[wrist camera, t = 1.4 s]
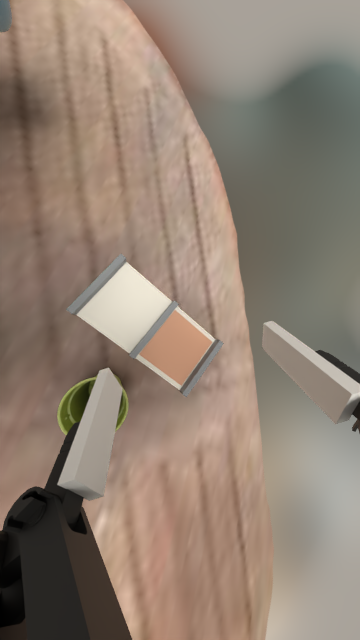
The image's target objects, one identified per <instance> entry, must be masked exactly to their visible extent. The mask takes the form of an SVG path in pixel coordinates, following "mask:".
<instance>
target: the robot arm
mask: <svg viewBox="0 0 360 640" xmlns="http://www.w3.org/2000/svg"><path fill="white" fill-rule="evenodd" d="M11 23H12V13H11V7H10V2H9V0H0V32H6V31H8V30H9V28H10V27H11ZM262 349H263V350H264V351H265V352H266V353H267V354H268V355H269V356H270V357H271V358H272V359H273V360H274V361H275V362H276V363H277V364H278V365H279V366H280V367H281V368H282V369H283V370H284V371H285V372H286V373H287V374H288V375H289V376H290V377H291V378H292V380H294V382H295V383H296V384H297V385H298V386H299V387H300V388H301V389H302V390H303V391H304V392H305V393H306V394H307V395H308V396H309V397H310V398H311V399H312V400H313V401H314V402H315V403H316V404H317V405H318V407H320V408H321V410H323V412H325V414H326V415H327V416H328V417H329V418H330V419H331V420H332V421H333V422H334V423H335V424H338V423H341V422H344V421H347V420H349V418H350V417H351V415H352V414H353V415H354V416H355V417H356V418H357V421H356V422H355V424H354V425H353V427H352V431H356V429H357V428H358V429H359V433H360V374H359V373H358V372H356V371H355V370H353V369H352V368H350V367H348V366H347V365H346V364H344V363H343V362H340V361H339V360H338V359H337V358H335V357H334V356H332V355H331V354H329V353H326V352H324V351H321V350H318V351H313V350H312V349H311V348H309V347H308V346H306V345H305V344H304V343H302V342H301V341H299V340H298V339H297V338H295V337H294V336H293V335H291V334H290V333H288V332H287V331H286V330H284V329H283V328H282V327H280V326H279V325H277V324H276V323H275V322H273V321H270V322H266V323H264V325H263V341H262ZM122 390H123V388H122V387H121V385H120V384H119V382H118V381H117V379H116V378H115V376H114V375H113V373H112V372H111V370H110V369H109V368H106V369H102V370H100V371H99V373H98V376H97V379H96V381H95V384H94V387H93V389H92V392H91V395H90V398H89V400H88V403H87V406H86V408H85V411H84V414H83V416H82V419H81V421H79V422H76V423H74V424H73V426H72V427H71V429H70V430H69V431H68V433H67V435H66V438H65V440H64V444H63V445H62V447H61V450H60V454H59V455H58V457H57V460H56V462H55V464H54V467H53V469H52V472H51V474H50V476H49V479H48V481H47V484H46V486H45V488H44V489H43V488H40V487H33V488H30V489H28V490H27V491H26V492H25V493H23V494H22V495H21V496H20V497H19V498H18V500H17V501H16V502H15V503H14V504H13V506H12V508H11V509H10V511H9V512H8V514H7V517H6V519H5V521H4V526H3V530H2V531H0V640H132V638H131V635H130V632H129V630H128V627H127V624H126V621H125V619H124V616H123V613H122V611H121V608H120V605H119V603H118V600H117V597H116V594H115V592H114V589H113V586H112V584H111V581H110V578H109V575H108V573H107V570H106V567H105V565H104V562H103V559H102V557H101V554H100V551H99V548H98V546H97V543H96V540H95V538H94V535H93V532H92V530H91V527H90V524H89V521H88V519H87V516H86V513H85V511H84V509H83V507H82V502H83V498H85V499H87V500H89V501H90V500H93V499H97V498H100V497H103V496H104V491H105V485H106V480H107V474H108V468H109V463H110V457H111V452H112V446H113V440H114V435H115V429H116V424H117V418H118V412H119V407H120V401H121V396H122Z"/></svg>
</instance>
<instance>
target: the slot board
mask: <svg viewBox="0 0 360 640" xmlns="http://www.w3.org/2000/svg"><path fill="white" fill-rule="evenodd" d="M178 305H179V304H178V303H177V302H176V301H173V302H172V301H171V300H170V299H169V298H167V297H166V296H165V295H164V294H163V293H162V292H160V291H159V290H158V289H157V288H156V287H155V286H154V285H152V284H151V283H150V282H149V281H148V280H147V279H146V278H144V277H143V276H142V275H141V274H140V273H139V272H137V271H136V270H135V269H134V268H133V267H132V266H131V265H129V264H128V263H127V262H126V258H125V257H124V256H123V255H122V254H120V255H119V256H118V257H117V258H116V259H115V260H114V261H113V262H112V263H111V264H110V265H109V266H108V267H107V268H106V269H105V270H104V271H103V272H102V273H101V274H100V275H99V276H98V277H97V278H96V279H95V280H94V281H93V283H92V284H91V285H90V286H89V287H88V288H87V289H86V290H85V291H84V292H83V293H82V294H81V295H80V296H79V297H78V298H77V299H76V300H75V301H74V302H73V303H72V304H71V305H70V306H69V307H68V308H67V309H66V310H67V311H69V312H70V313H71V314H75V315H77V316H79V317H80V318H82V319H83V320H84V321H86V322H87V323H88V324H90V325H91V326H92V327H94V328H95V329H97V330H98V331H99V332H101V333H102V334H103V335H105V336H106V337H108V338H109V339H110V340H112V341H113V342H114V343H116V344H117V345H118V346H120V347H121V348H123V349H124V350H125V351H127V352H128V353H129V356H130V357H132V358H133V359H135V358H136V359H138V360H139V361H140V362H142V363H143V364H144V365H146V366H147V367H148V368H150V369H151V370H153V371H154V372H155V373H157V374H158V375H159V376H161V377H162V378H164V379H165V380H166V381H168V382H169V383H170V384H172V385H173V386H174V387H176V388H177V389H179V390H180V392H181V393H182V394H183V395H184V396H185V397H187V396H188V394H189V393H190V391H191V390H192V388H193V387H194V386H195V384H196V383H197V381H198V380H199V378H200V377H201V375H202V374H203V373H204V371H205V370H206V368H207V367H208V365H209V364H210V362H211V361H212V360H213V358H214V357H215V355H216V354H217V352H218V351H219V349H220V348H221V347H222V345H223V344H224V343H222V342H221V341H220V340H216V339H215V338H213V337H212V336H211V335H210V334H209V333H208V332H206V331H205V330H204V329H203V328H202V327H201V326H200V325H198V324H197V323H196V322H195V321H194V320H193V319H192V318H190V317H189V316H188V315H187V314H186V313H185V312H183V311H182V310H181V309H180V308H179V307H178Z"/></svg>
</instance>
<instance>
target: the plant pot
mask: <svg viewBox="0 0 360 640" xmlns="http://www.w3.org/2000/svg"><path fill="white" fill-rule="evenodd" d="M113 375H114V376H115V378H116V379H117V381H118V382H119V384H120V385H121V387H122V384H121V381H120V379H119V377H118V376H116V375H115V374H113ZM97 376H98V375H97ZM97 376H95V377H92V378H88V379H85V380H83V381H81V382H79V383H77V384H76V385H74V386H73V387H72V388H71V389H69V390H68V392H67V393H66V394H65V395H64V397H63V398H62V400H61V402H60V404H59V407H58V412H57V419H58V424H59V427H60V429H61V430H62V432H63V433H64V434H65V435H67V433H68V431H69V430H70V429H71V427H72V426H73V424H74V423H76V422H79V421H81V419H82V416H83V414H84V411H85V408H86V406H87V403H88V400H89V398H90V395H91V390H92V389H93V387H94V384H95V381H96V379H97ZM122 388H123V387H122ZM127 412H128V397H127V394H126V392H125V390H124V388H123V390H122V396H121V401H120V407H119V412H118V418H117V424H116V429H115V432H116V431H117V430H118V429H119V428H120V426H121V425H122V424H123V422H124V420H125V418H126V416H127Z"/></svg>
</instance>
